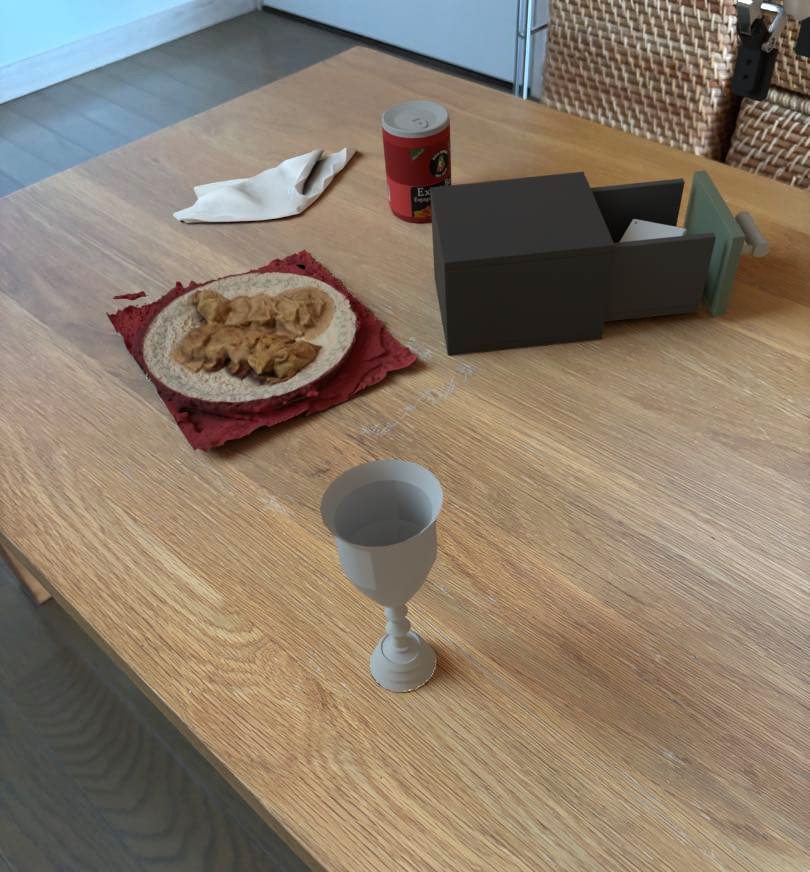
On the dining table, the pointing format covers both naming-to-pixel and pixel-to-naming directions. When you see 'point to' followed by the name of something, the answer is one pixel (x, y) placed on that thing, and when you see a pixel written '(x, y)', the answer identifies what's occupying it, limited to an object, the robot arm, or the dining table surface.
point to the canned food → (415, 156)
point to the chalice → (388, 554)
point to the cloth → (267, 190)
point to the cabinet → (520, 262)
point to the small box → (650, 231)
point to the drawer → (674, 248)
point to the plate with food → (256, 348)
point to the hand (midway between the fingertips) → (780, 76)
